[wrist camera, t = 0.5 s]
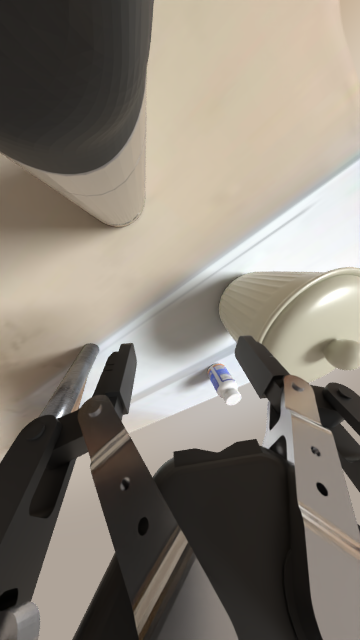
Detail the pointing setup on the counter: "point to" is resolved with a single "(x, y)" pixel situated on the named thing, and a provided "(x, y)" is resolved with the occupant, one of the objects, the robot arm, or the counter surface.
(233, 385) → the pill bottle
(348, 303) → the canister
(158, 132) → the counter surface
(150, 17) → the robot arm
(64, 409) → the gate posts
